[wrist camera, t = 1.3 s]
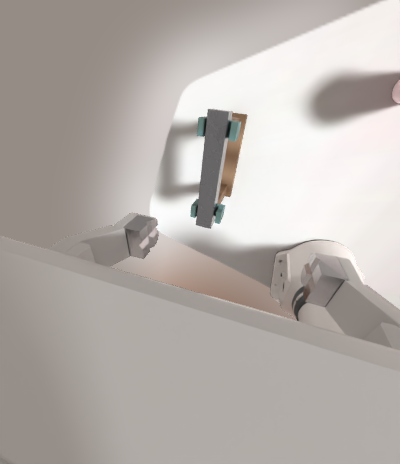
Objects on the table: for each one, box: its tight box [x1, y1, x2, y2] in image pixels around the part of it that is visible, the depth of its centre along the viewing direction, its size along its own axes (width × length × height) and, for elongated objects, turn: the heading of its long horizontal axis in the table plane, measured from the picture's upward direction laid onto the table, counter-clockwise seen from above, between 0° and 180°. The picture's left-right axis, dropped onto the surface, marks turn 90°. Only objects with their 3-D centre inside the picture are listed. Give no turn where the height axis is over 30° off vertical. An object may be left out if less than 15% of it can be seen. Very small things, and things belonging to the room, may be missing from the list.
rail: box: [196, 109, 233, 229], centre depth 27 cm, size 16×2×2 cm, turn 175°
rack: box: [191, 113, 247, 224], centre depth 32 cm, size 15×5×14 cm, turn 175°
